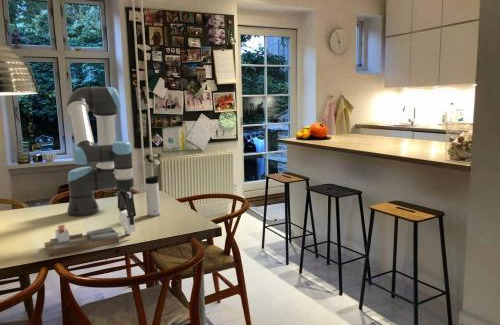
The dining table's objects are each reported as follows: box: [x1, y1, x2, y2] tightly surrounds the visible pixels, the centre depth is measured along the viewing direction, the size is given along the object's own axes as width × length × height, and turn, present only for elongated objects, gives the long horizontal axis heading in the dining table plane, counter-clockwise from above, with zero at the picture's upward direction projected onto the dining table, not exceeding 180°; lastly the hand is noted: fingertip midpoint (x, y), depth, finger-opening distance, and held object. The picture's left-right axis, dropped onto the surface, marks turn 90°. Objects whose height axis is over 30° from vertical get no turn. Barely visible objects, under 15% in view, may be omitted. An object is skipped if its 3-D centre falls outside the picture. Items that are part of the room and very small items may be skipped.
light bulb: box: [118, 210, 136, 236], centre depth 176 cm, size 7×7×11 cm
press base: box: [44, 227, 120, 258], centre depth 166 cm, size 12×26×4 cm, turn 124°
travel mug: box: [145, 175, 161, 218], centre depth 205 cm, size 6×7×20 cm
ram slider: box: [54, 224, 70, 244], centre depth 161 cm, size 6×4×7 cm, turn 34°
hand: (127, 228), depth 177 cm, fingers open, 10 cm apart
